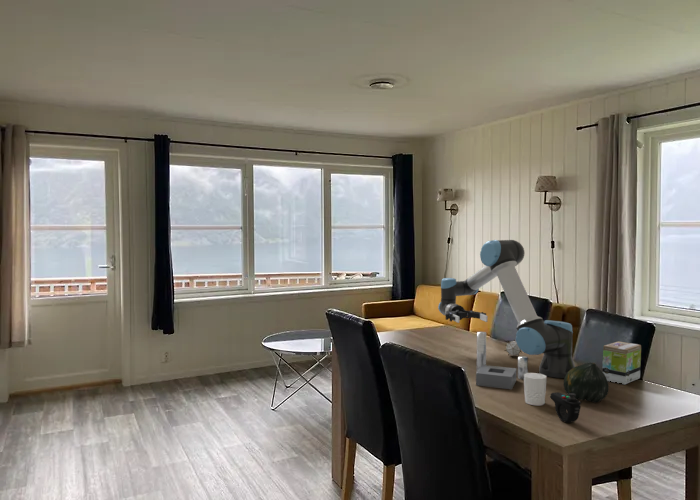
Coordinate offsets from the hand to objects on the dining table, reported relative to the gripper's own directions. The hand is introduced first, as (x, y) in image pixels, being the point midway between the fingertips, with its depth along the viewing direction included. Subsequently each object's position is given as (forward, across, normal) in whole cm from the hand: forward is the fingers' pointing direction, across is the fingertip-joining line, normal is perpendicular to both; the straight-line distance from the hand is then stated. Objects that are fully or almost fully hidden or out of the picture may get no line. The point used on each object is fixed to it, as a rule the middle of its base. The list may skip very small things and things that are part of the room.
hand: (472, 319), depth 242 cm
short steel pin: (+21, -14, -22) cm, 33 cm away
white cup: (+51, -2, -22) cm, 55 cm away
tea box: (+30, -54, -22) cm, 65 cm away
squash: (+51, -23, -22) cm, 60 cm away
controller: (+70, -3, -22) cm, 73 cm away
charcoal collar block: (+25, 0, -22) cm, 33 cm away
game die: (-16, -29, -22) cm, 40 cm away
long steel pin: (+10, 0, -22) cm, 24 cm away
